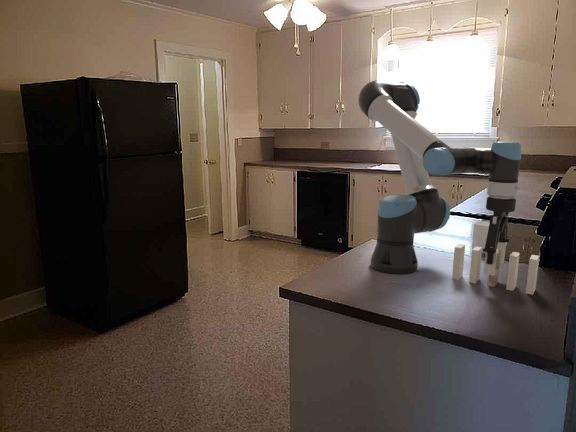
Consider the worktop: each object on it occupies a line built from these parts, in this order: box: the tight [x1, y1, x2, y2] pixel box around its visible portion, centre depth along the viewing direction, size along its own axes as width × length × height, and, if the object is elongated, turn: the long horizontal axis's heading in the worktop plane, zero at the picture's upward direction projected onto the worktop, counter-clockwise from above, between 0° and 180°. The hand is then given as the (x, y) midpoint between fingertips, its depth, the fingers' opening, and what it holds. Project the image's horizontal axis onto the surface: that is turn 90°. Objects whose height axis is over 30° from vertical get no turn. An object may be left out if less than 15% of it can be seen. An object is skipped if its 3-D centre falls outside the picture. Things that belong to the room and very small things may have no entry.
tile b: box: [468, 246, 483, 284], centre depth 130 cm, size 2×5×10 cm, turn 144°
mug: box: [471, 220, 509, 255], centre depth 162 cm, size 9×12×11 cm
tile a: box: [451, 243, 466, 281], centre depth 133 cm, size 2×5×10 cm, turn 144°
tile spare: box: [487, 249, 501, 288], centre depth 127 cm, size 2×5×10 cm, turn 144°
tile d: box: [525, 254, 540, 295], centre depth 121 cm, size 2×5×10 cm, turn 144°
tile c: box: [505, 251, 521, 292], centre depth 124 cm, size 2×5×10 cm, turn 144°
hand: (494, 268), depth 127 cm, fingers open, 13 cm apart
